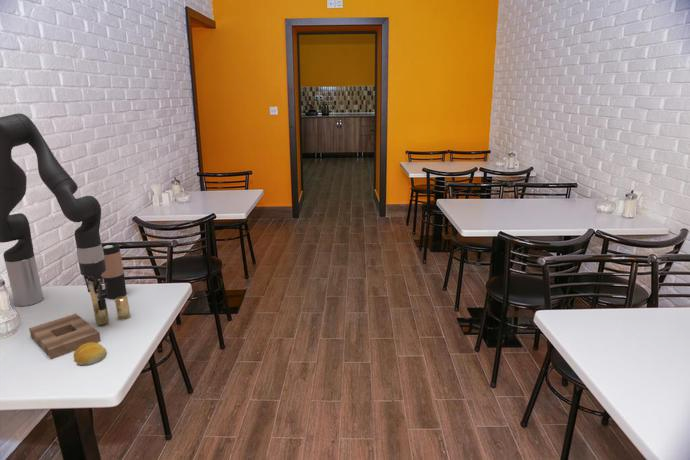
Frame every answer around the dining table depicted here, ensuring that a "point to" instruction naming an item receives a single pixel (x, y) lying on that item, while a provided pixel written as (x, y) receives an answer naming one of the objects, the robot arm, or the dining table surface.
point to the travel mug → (113, 271)
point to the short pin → (122, 307)
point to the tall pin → (101, 315)
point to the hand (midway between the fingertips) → (100, 307)
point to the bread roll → (89, 353)
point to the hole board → (63, 335)
